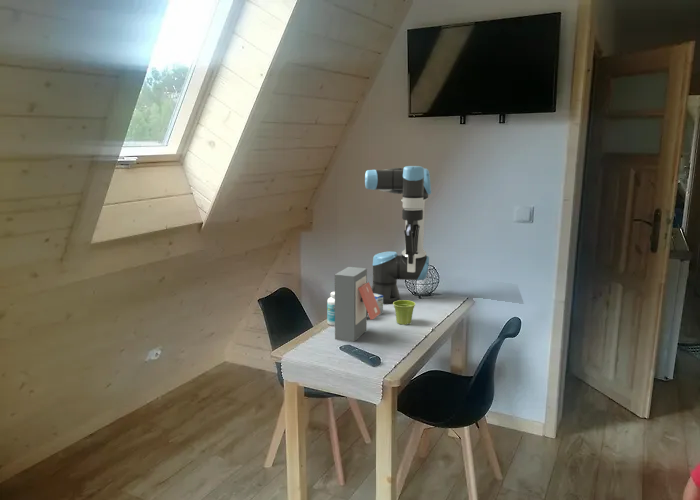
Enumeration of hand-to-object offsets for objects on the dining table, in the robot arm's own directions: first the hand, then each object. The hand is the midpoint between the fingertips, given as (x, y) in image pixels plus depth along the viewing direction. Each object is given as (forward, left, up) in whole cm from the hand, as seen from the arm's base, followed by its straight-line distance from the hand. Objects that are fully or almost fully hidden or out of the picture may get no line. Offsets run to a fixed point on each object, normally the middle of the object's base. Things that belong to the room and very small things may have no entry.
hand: (411, 271), depth 204 cm
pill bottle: (-16, -33, -28) cm, 46 cm away
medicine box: (-34, -20, -28) cm, 49 cm away
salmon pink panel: (-2, -14, -19) cm, 23 cm away
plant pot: (-23, -5, -28) cm, 37 cm away
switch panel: (-4, -23, -28) cm, 36 cm away
